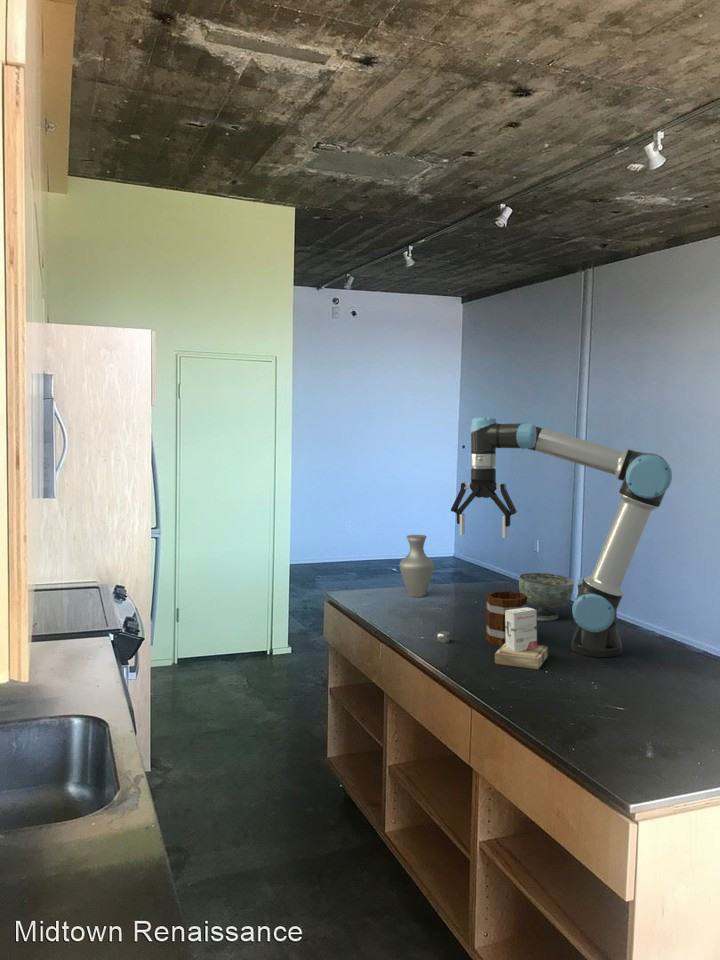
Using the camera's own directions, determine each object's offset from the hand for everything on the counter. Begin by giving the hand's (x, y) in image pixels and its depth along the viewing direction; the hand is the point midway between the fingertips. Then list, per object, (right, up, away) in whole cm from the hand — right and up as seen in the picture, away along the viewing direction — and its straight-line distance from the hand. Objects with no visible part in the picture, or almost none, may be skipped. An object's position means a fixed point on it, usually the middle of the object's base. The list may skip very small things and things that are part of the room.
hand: (483, 535), depth 231 cm
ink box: (+10, -34, -5) cm, 36 cm away
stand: (+11, -37, -5) cm, 39 cm away
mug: (+11, -36, +18) cm, 41 cm away
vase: (-15, -31, +79) cm, 86 cm away
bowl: (+30, -33, +43) cm, 62 cm away
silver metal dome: (-11, -36, +14) cm, 40 cm away
